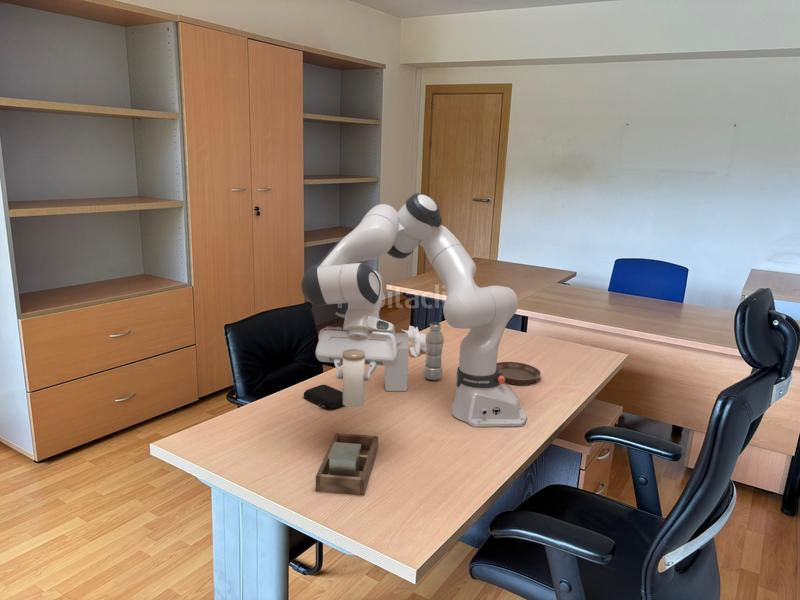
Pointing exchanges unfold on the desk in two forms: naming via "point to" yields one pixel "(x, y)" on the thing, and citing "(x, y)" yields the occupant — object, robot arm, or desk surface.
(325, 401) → the carrying case or bag
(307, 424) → the desk surface
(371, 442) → the crate
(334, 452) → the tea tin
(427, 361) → the plastic bottle
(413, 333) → the character figurine
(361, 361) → the lidded white canister
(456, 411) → the robot arm
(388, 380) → the milk carton
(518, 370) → the plant saucer
